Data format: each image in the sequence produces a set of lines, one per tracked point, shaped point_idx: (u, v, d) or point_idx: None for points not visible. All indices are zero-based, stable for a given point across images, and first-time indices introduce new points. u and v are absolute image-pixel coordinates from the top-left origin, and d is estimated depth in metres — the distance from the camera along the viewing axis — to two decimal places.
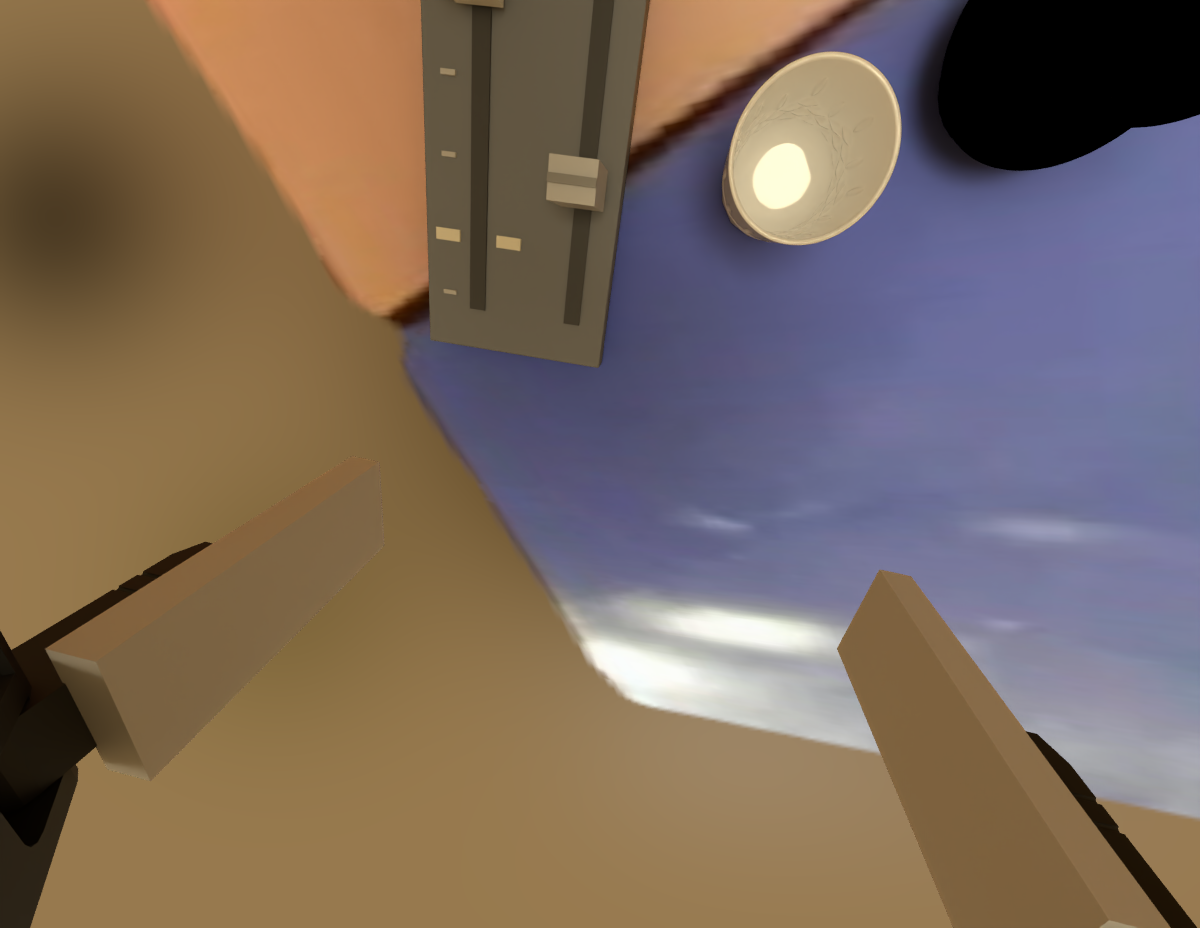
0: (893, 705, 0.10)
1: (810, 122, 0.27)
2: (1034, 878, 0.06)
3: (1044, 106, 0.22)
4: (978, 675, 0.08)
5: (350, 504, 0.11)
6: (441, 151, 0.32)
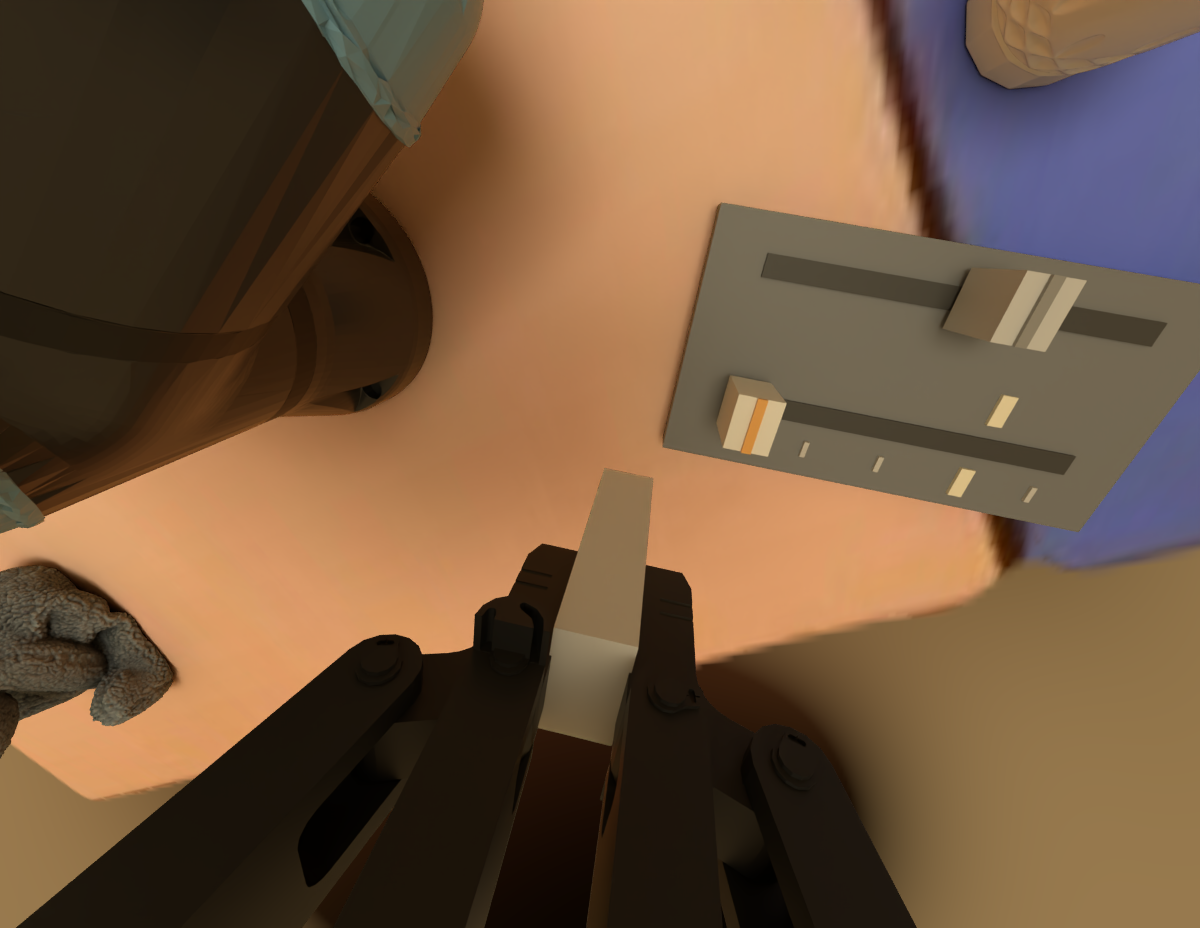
0: None
1: None
2: None
3: None
4: (643, 530, 0.11)
5: None
6: (871, 471, 0.28)
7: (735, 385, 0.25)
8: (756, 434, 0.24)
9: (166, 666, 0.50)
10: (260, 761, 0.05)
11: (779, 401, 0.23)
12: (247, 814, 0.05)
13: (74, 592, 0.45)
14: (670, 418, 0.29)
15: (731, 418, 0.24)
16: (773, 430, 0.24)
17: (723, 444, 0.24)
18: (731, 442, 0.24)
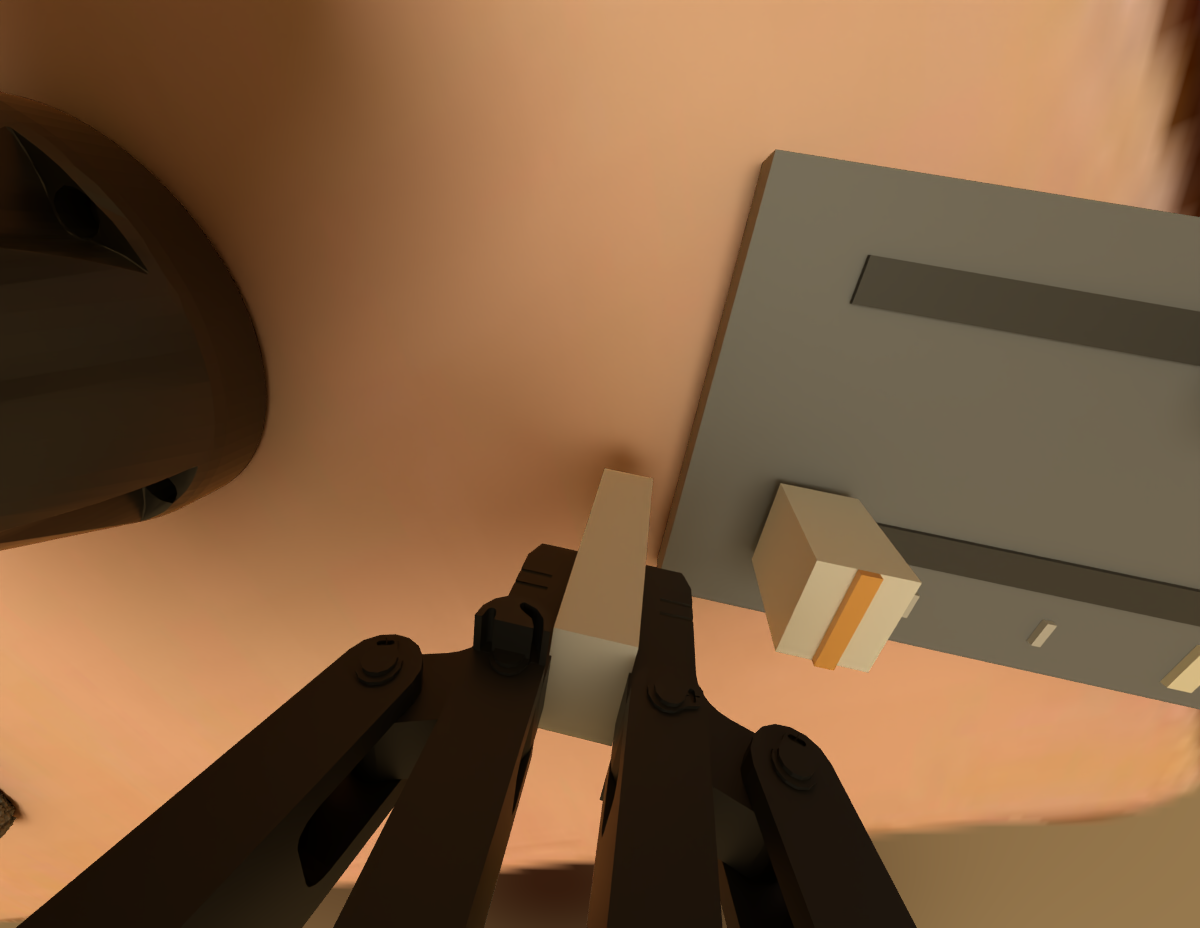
0: None
1: None
2: None
3: None
4: (642, 530, 0.11)
5: None
6: (1027, 643, 0.16)
7: (799, 521, 0.12)
8: (849, 635, 0.11)
9: (1, 803, 0.38)
10: (260, 761, 0.05)
11: (904, 576, 0.11)
12: (247, 814, 0.05)
13: None
14: (669, 545, 0.16)
15: (796, 601, 0.11)
16: (885, 628, 0.11)
17: (776, 643, 0.12)
18: (794, 644, 0.12)
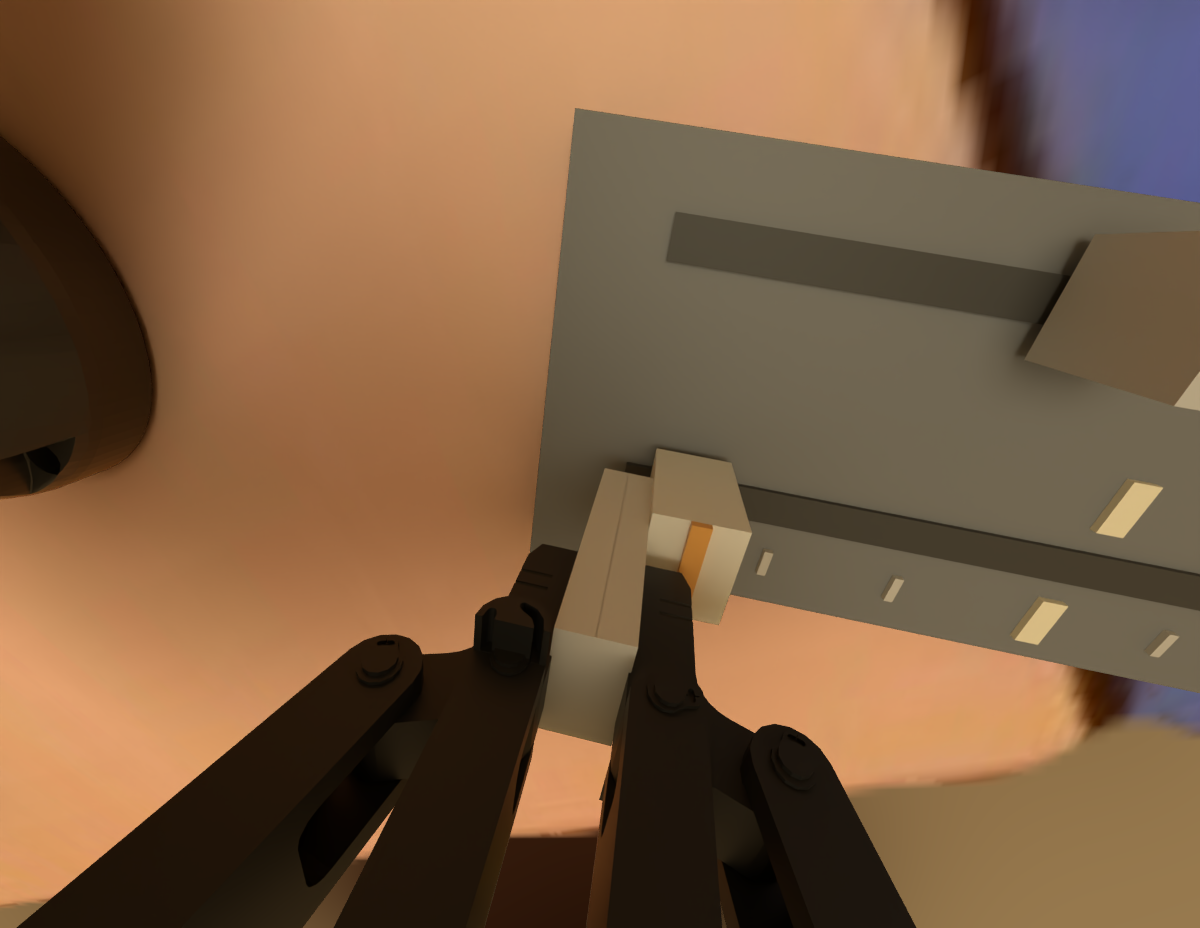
0: None
1: None
2: None
3: None
4: (642, 530, 0.11)
5: None
6: (881, 599, 0.16)
7: (656, 480, 0.13)
8: (693, 587, 0.12)
9: None
10: (260, 761, 0.05)
11: (737, 527, 0.11)
12: (247, 814, 0.05)
13: None
14: (536, 508, 0.17)
15: None
16: (727, 580, 0.12)
17: None
18: None
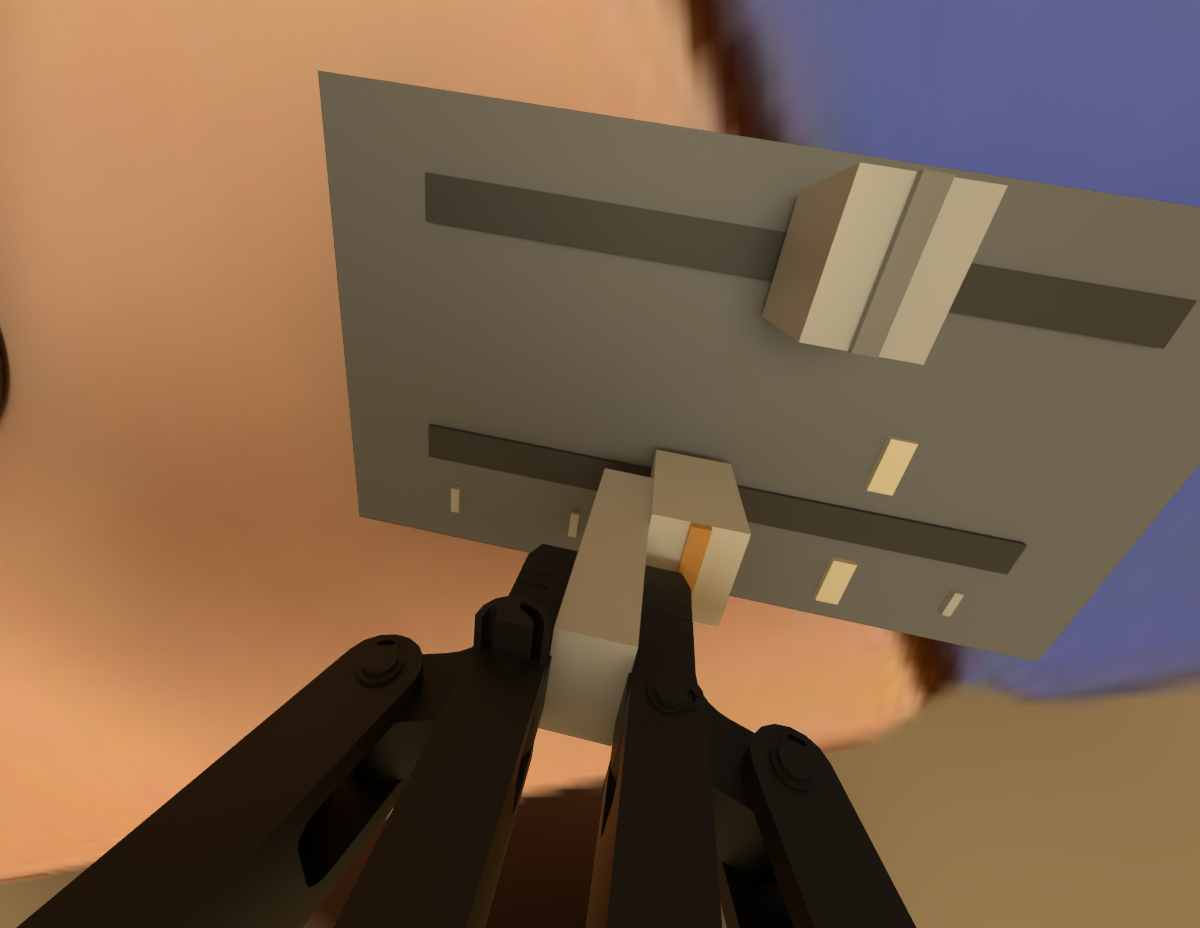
0: None
1: None
2: None
3: None
4: (642, 530, 0.11)
5: None
6: None
7: (655, 481, 0.13)
8: (692, 588, 0.12)
9: None
10: (260, 761, 0.05)
11: (736, 528, 0.11)
12: (247, 814, 0.05)
13: None
14: (357, 471, 0.17)
15: None
16: (726, 581, 0.12)
17: None
18: None
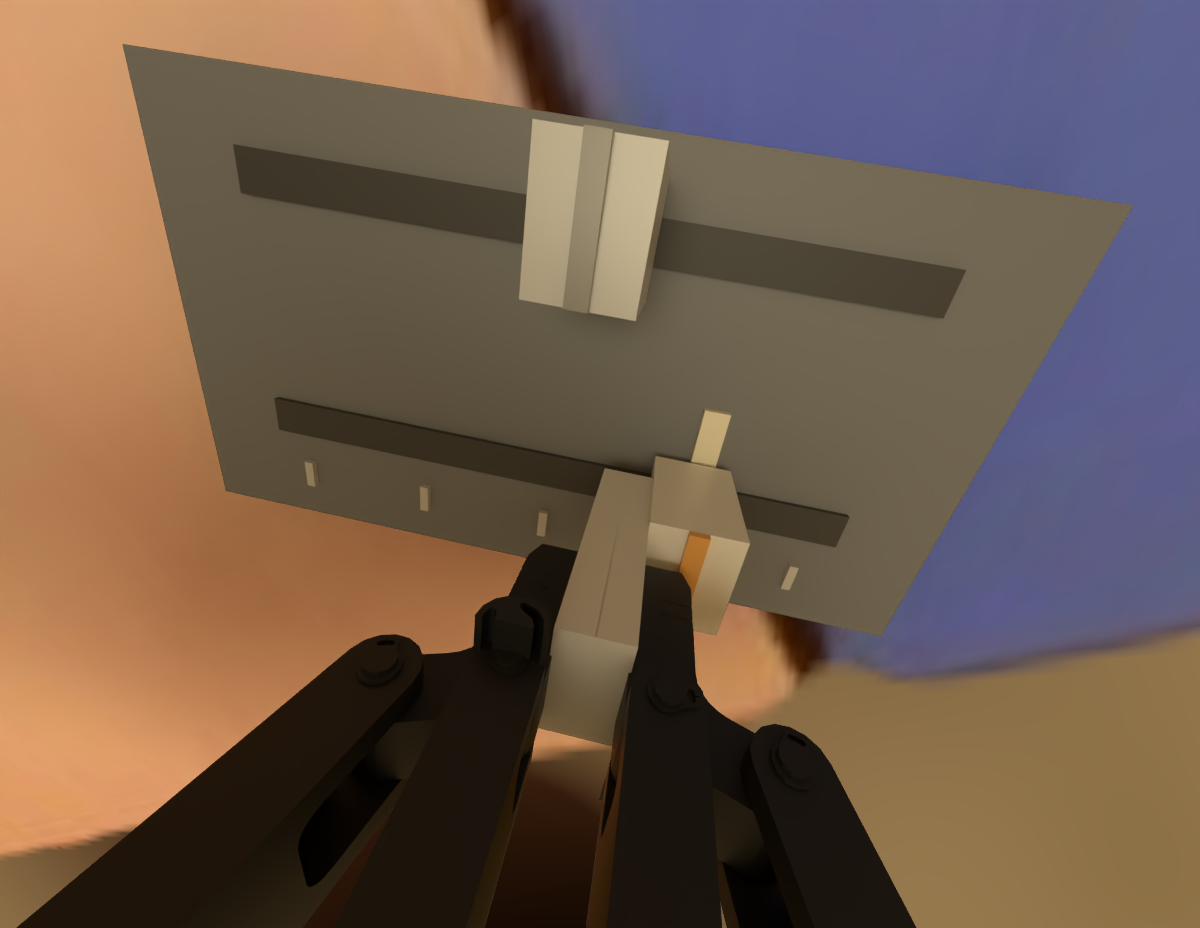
0: None
1: None
2: None
3: None
4: (642, 530, 0.11)
5: None
6: (538, 534, 0.17)
7: (654, 489, 0.13)
8: None
9: None
10: (260, 761, 0.05)
11: (735, 537, 0.11)
12: (247, 814, 0.05)
13: None
14: (217, 445, 0.18)
15: None
16: (725, 590, 0.11)
17: None
18: None
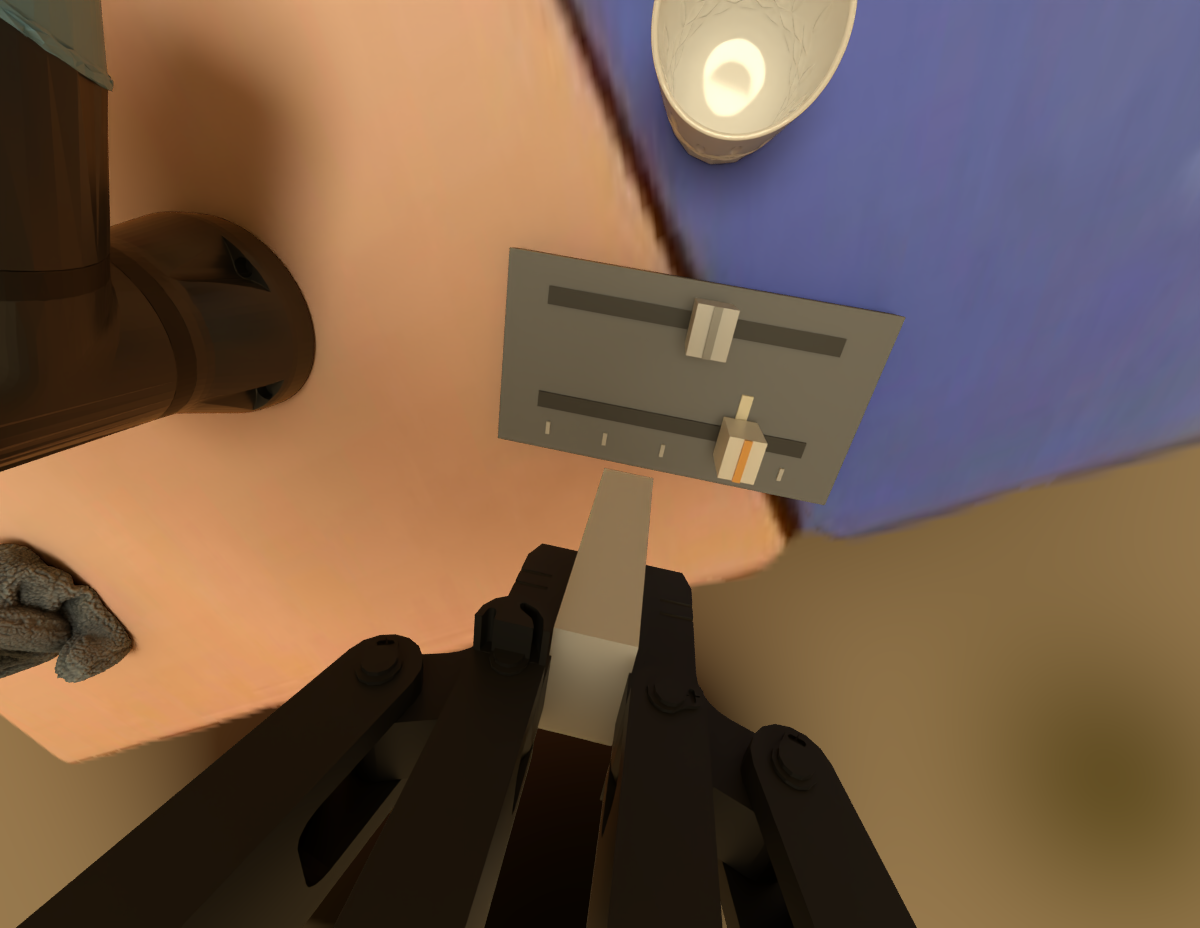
0: None
1: (681, 52, 0.24)
2: None
3: None
4: (643, 530, 0.11)
5: None
6: (659, 456, 0.35)
7: (727, 427, 0.31)
8: (744, 467, 0.30)
9: (124, 634, 0.57)
10: (260, 761, 0.05)
11: (761, 442, 0.29)
12: (247, 814, 0.05)
13: (42, 566, 0.52)
14: (500, 414, 0.36)
15: (724, 454, 0.30)
16: (757, 464, 0.30)
17: (718, 474, 0.30)
18: (724, 473, 0.30)
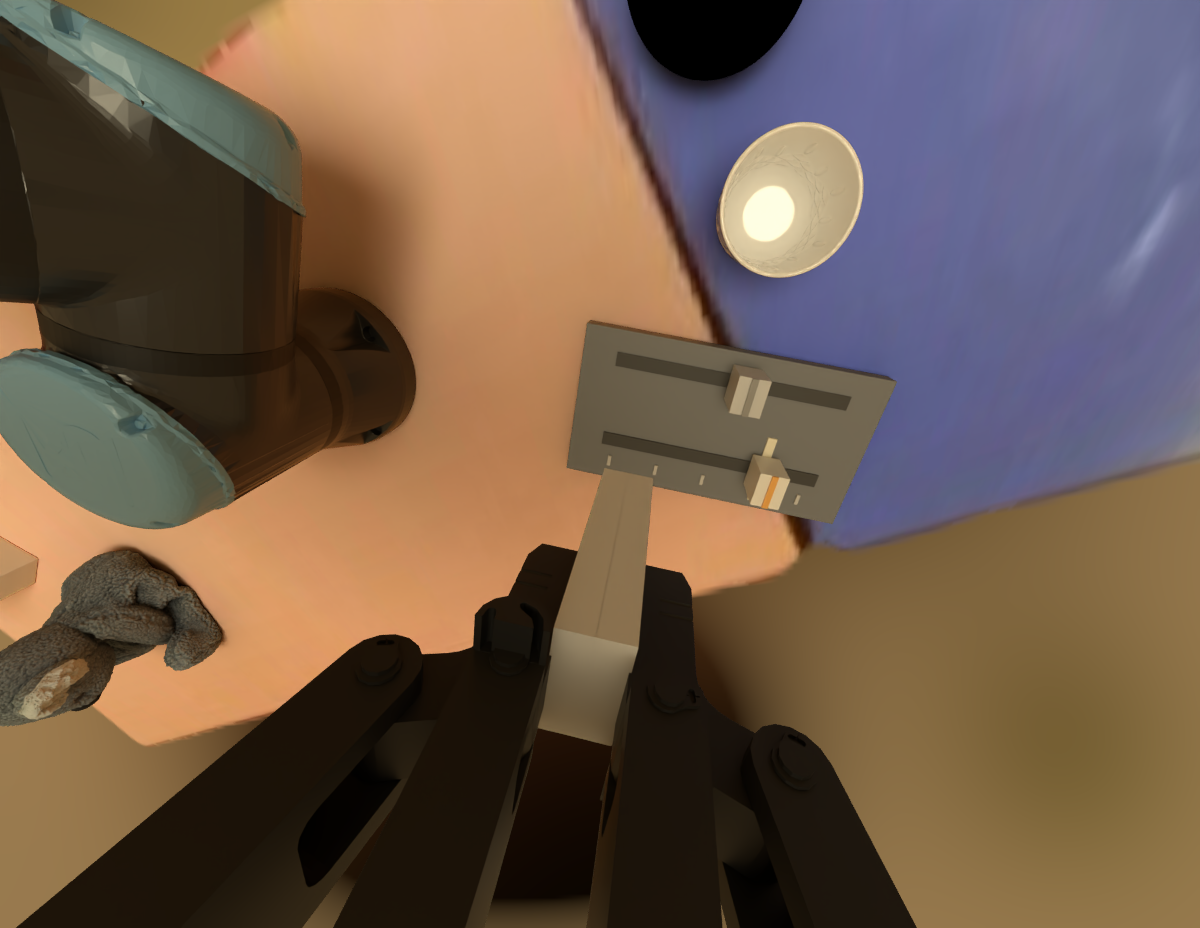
0: None
1: (730, 193, 0.33)
2: None
3: None
4: (643, 530, 0.11)
5: None
6: (699, 484, 0.44)
7: (757, 464, 0.39)
8: (771, 497, 0.38)
9: (217, 628, 0.65)
10: (260, 761, 0.05)
11: (785, 477, 0.38)
12: (247, 814, 0.05)
13: (153, 570, 0.60)
14: (569, 449, 0.44)
15: (755, 487, 0.38)
16: (781, 494, 0.38)
17: (750, 502, 0.39)
18: (755, 501, 0.39)
